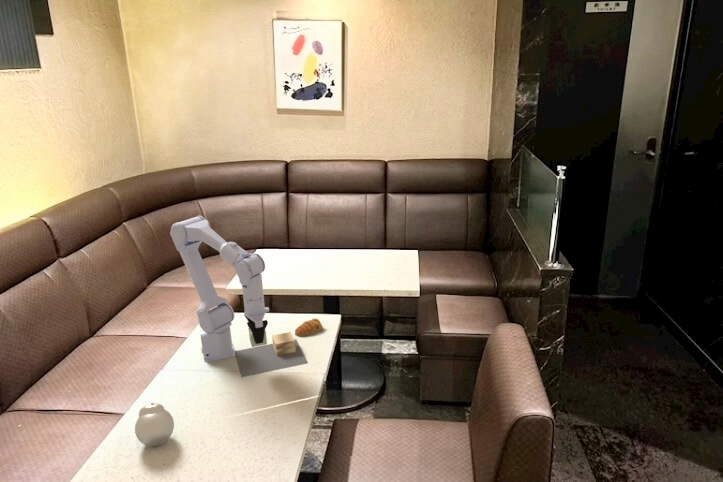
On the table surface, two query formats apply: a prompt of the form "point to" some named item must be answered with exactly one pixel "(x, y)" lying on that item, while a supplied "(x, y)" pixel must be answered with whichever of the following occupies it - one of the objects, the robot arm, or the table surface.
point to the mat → (267, 359)
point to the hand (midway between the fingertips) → (257, 338)
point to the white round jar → (154, 425)
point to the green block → (254, 340)
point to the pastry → (309, 328)
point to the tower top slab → (283, 340)
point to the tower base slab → (284, 350)
